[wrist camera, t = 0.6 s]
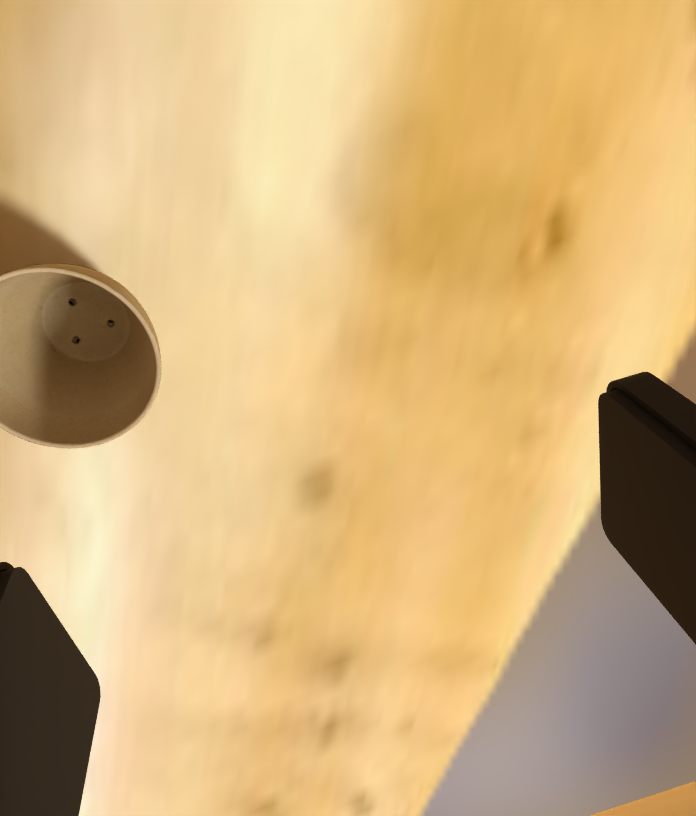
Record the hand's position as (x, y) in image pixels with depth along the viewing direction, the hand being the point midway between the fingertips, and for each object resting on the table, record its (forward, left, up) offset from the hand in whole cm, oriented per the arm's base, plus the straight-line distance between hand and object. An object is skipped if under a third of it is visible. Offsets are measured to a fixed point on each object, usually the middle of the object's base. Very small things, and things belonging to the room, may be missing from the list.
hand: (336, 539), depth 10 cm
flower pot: (+3, -12, -31) cm, 33 cm away
